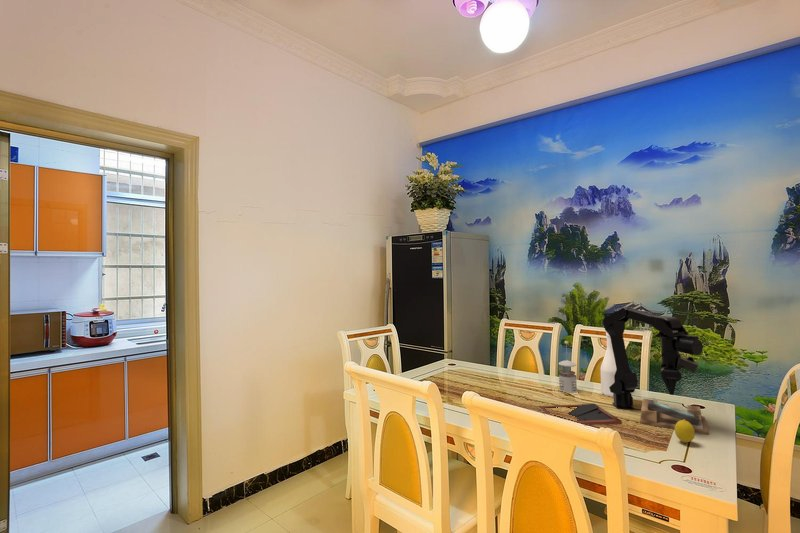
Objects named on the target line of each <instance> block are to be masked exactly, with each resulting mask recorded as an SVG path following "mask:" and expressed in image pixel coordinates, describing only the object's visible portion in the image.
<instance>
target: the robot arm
mask: <svg viewBox="0 0 800 533" xmlns="http://www.w3.org/2000/svg"><path fill="white" fill-rule="evenodd" d="M630 320H633V321H637V322H640V323H643V324H645V325H649V326H652V327H653V329H654V330H657V331H658V332H657V334H654V337H655V338H659V339H660V349H661V350H660V351H661V354H660V356H661V362H660V363H661V364H660V365H661V367H660V368H661V369H660V378H661V379H662V381H663V383H664V385H665V387H666V389H667V391H668V394H669V395H671V396H674V393H675V390H676V385H677V382H679V381H681V380H682V371H681V369H685V370H688V371H689V372H691V373H693V374H695V373H696V372H697V370H698V367H699V363H698V362H697V361H695V359H694V357H693V356H694V355H695V356H700V355H701V354H702V353H703V349H704V345H703V343H702V341H701V340H700V339H699V336H698V335H690V334H689V333H688V331H687V330H686V329H685V328H684V325H682V323H681V321H680V319H679V318H678V317H675V316H667V315H656V314H653V313H649V312H646V311H642V310H639V309H637V308H633V307H629V306H627V307H621V308H620V309H618V310H617V311H615V312H613V313H611V314H609V315H605V316H603V319H602V324H603V328H604V330H605V333H606V332H607V333H608V334H609V335H610V338H611V343H612V348H613V353H614V358H615V364H616V373H615V375H614V383H613V384H612V385H611V386H610V387H609V388H610V392H612V393H613V397H612V398H613V402H612V403H611V404H612V405H613V407H615V408H617V409H619V410H620V409H621V410H622V409H623V410H634V398H633V396H632V393H635V390H636V389H637V387H638V383H639V380H638V375H637V373H636V372H633V371H632V370H631V369H630V365H629V360H628V355H627V350H626V345H625V340H624V332H625V330H626V323H627V322H629V321H630ZM681 353H683V354H688V355H693V356H688V357H683V356H682V355H681Z"/></svg>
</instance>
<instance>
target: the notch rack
mask: <svg viewBox="0 0 800 533" xmlns="http://www.w3.org/2000/svg"><path fill="white" fill-rule="evenodd" d="M649 400H652V401H655V402H658V400H656V399H648V398H643V399H642V403H641V409H640V418H639V424H640V425H641V424H642V425H647V426H653V427H659V428H664V427H665V428H666V429H672V430H675V425H676V423H677V422H678V421H680V419H677V418H674V417H671V416H669V415H666V414H663V413H660V412H657V411H654V410H651V409H648V403H649ZM686 406H687V412H688V413H691V414H694V415H697V416H699V424H698V425H695V424H692V423H691V425H692V426H693V428H694V432H695V434H702V435H709V428H708V425H707V424H708V423H707V421H706V420H707V419H706V416H703V415H702V409H701V407H700V406H697V405H695V406H694V405H690V404H688V405H686Z"/></svg>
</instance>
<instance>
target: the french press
mask: <svg viewBox="0 0 800 533" xmlns="http://www.w3.org/2000/svg"><path fill="white" fill-rule="evenodd" d="M564 344H565V346H566V353H568V344H569V341H567V340H565V341H564ZM558 365H559V366H560V367H565V369H564V370H560V371H559V373H560V374H558V378H559V379H558V382H559V384H558V386H559V389H560V390H561V391H563V392H567V393H577V392H579V391H578V385H577V375H576V372H575V371H574V370H570V368H572V367H573V368H574V367H576V366H577V364H576V363H575V362H573V361H571V360H568V359H565V360H561V361H559V362H558ZM559 389H558V390H559Z"/></svg>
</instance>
